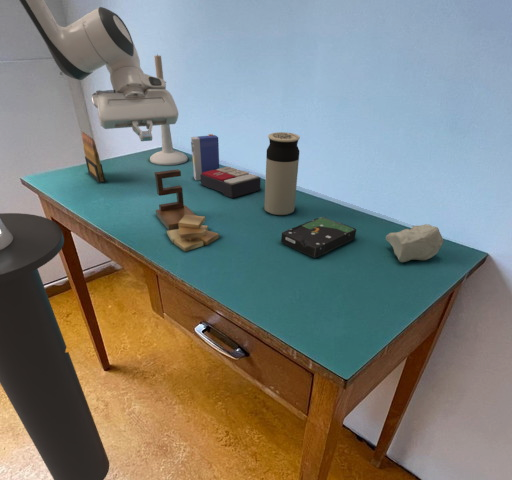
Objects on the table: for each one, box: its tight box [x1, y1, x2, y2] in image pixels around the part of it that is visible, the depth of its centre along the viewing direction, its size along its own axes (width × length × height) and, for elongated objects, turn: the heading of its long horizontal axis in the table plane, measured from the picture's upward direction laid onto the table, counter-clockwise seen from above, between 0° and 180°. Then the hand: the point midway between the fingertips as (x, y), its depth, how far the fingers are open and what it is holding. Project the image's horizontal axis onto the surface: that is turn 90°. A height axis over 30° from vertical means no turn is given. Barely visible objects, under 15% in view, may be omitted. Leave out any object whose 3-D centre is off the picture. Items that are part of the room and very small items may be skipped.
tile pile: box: [166, 214, 220, 252], centre depth 90 cm, size 10×11×4 cm
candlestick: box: [149, 53, 188, 166], centre depth 128 cm, size 13×13×30 cm
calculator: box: [200, 166, 261, 199], centre depth 117 cm, size 11×4×15 cm
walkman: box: [190, 133, 220, 181], centre depth 120 cm, size 8×3×12 cm, turn 115°
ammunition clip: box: [81, 131, 106, 184], centre depth 118 cm, size 11×2×12 cm, turn 35°
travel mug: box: [264, 131, 300, 216], centre depth 100 cm, size 8×8×18 cm
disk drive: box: [280, 216, 357, 259], centre depth 91 cm, size 10×3×15 cm
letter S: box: [154, 169, 197, 231], centre depth 95 cm, size 8×10×10 cm
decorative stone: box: [385, 223, 444, 263], centre depth 85 cm, size 11×9×10 cm
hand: (146, 139), depth 103 cm, fingers closed
